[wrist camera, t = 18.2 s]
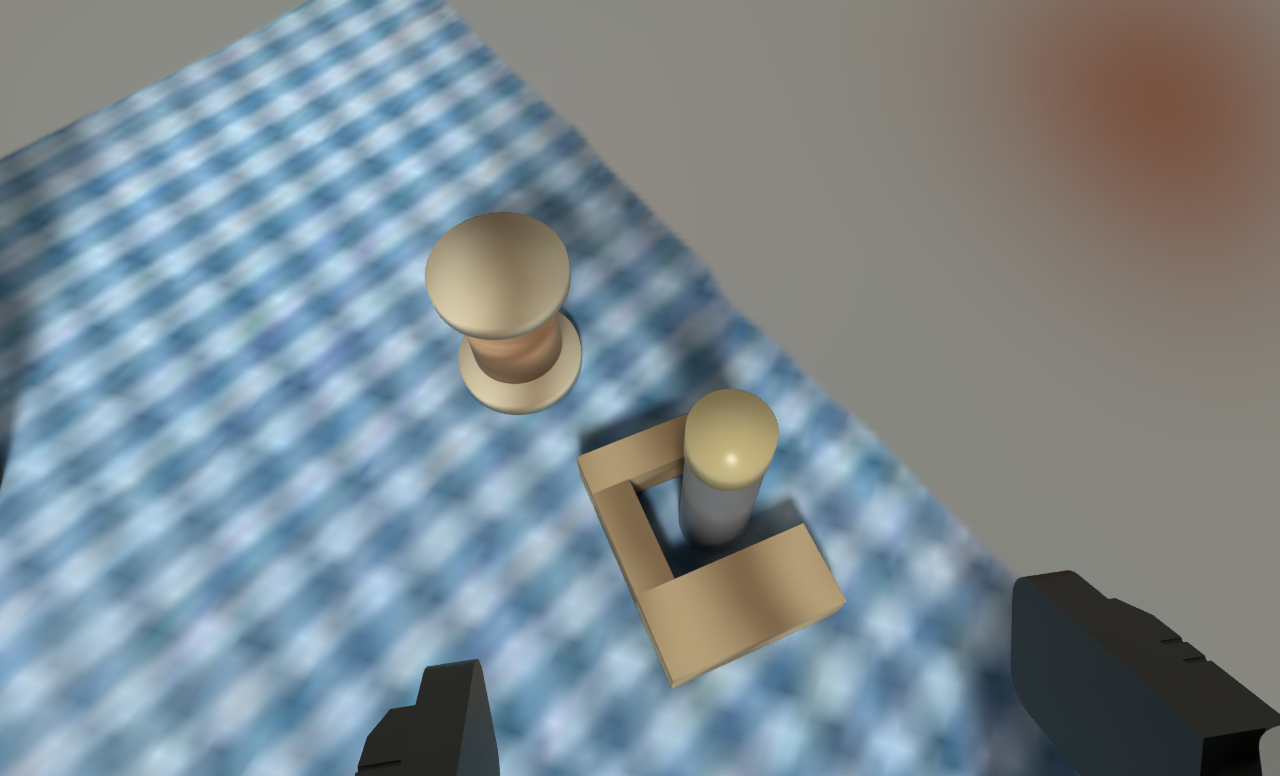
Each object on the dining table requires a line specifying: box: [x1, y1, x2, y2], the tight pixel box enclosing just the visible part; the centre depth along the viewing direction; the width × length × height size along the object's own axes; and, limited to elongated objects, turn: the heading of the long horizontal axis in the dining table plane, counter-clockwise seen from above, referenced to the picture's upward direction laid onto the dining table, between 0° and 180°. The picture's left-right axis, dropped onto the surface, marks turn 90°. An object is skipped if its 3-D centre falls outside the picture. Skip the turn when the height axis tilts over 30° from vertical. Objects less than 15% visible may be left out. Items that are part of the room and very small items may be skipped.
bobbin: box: [425, 212, 582, 415], centre depth 44 cm, size 7×7×9 cm
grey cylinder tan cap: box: [679, 389, 779, 553], centre depth 38 cm, size 4×4×11 cm
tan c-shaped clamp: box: [577, 413, 846, 689], centre depth 42 cm, size 9×12×2 cm
